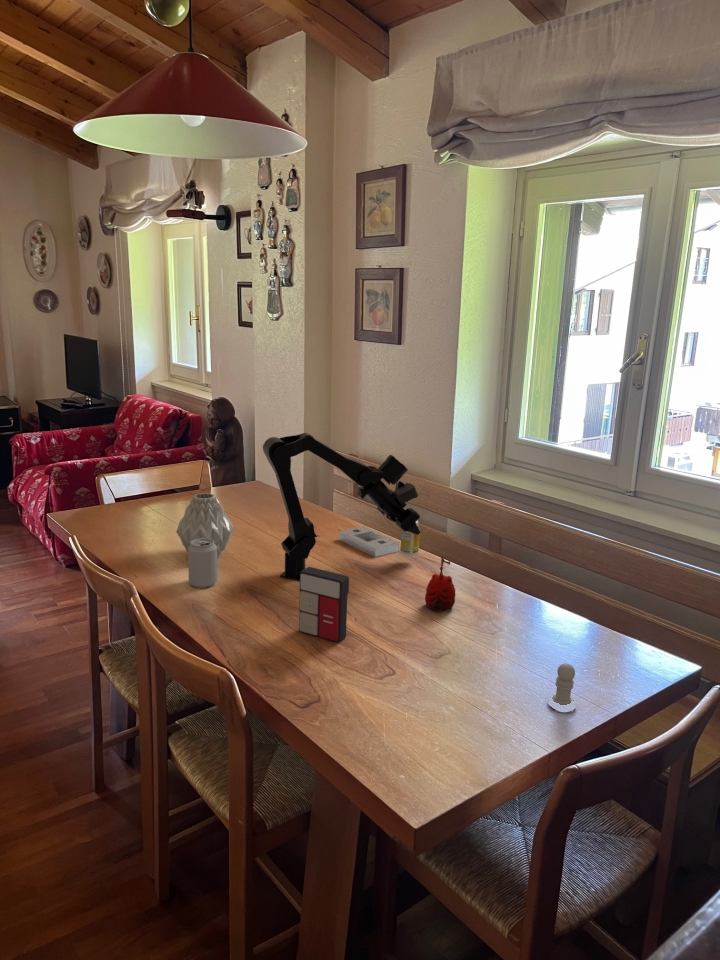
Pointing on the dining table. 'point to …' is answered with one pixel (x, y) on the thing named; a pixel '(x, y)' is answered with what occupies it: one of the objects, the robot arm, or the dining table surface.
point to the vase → (205, 522)
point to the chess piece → (564, 684)
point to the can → (202, 563)
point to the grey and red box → (323, 603)
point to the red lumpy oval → (440, 591)
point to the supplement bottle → (409, 542)
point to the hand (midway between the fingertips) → (415, 530)
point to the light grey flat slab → (375, 546)
